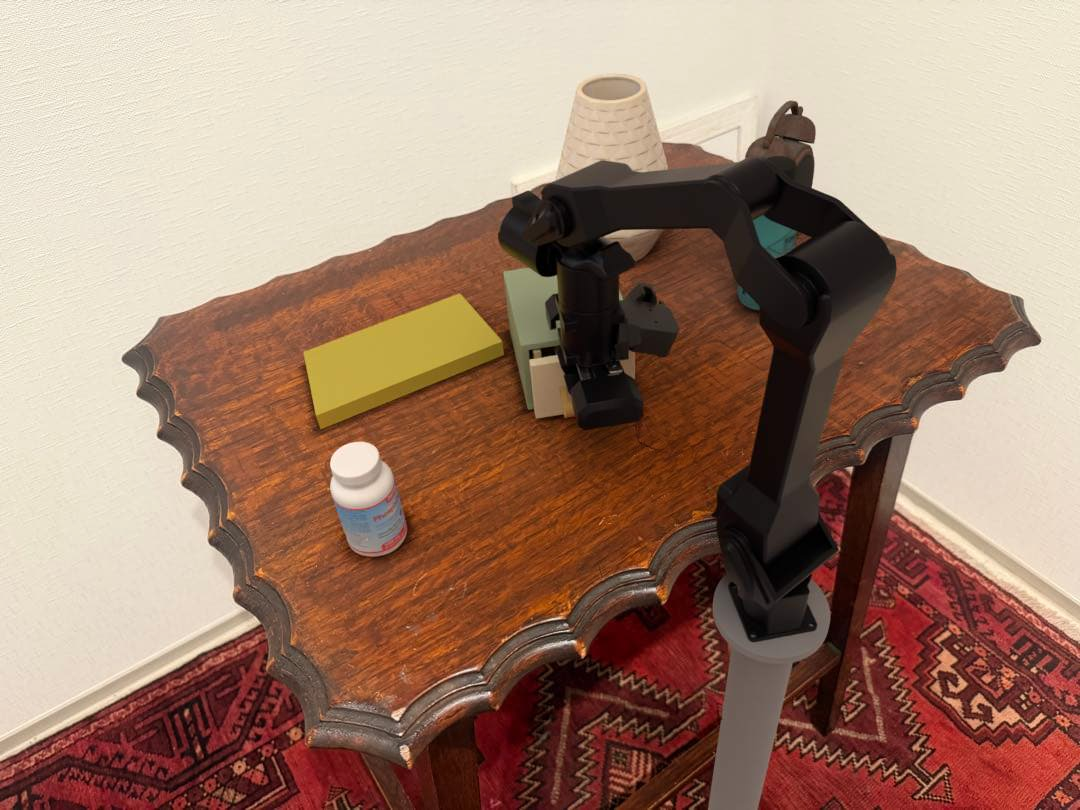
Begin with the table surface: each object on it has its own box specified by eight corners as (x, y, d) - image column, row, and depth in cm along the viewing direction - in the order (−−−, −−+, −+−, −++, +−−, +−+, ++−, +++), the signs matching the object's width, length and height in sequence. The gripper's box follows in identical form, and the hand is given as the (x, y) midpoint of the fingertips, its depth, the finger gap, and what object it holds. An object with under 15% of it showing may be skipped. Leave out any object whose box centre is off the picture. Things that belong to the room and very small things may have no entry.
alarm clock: (774, 278, 115) (793, 137, 102) (723, 264, 119) (736, 125, 105) (813, 226, 124) (836, 89, 111) (765, 215, 127) (781, 80, 114)
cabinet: (634, 392, 101) (634, 327, 94) (528, 410, 100) (520, 345, 94) (607, 318, 112) (605, 255, 105) (510, 334, 111) (502, 271, 104)
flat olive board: (462, 306, 116) (289, 372, 108) (460, 293, 114) (284, 358, 107) (504, 354, 108) (320, 429, 100) (502, 341, 106) (315, 415, 99)
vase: (662, 286, 116) (668, 122, 100) (538, 272, 120) (524, 113, 105) (684, 218, 128) (691, 62, 112) (570, 208, 132) (562, 57, 117)
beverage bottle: (729, 316, 110) (744, 172, 97) (741, 287, 115) (756, 145, 101) (782, 325, 108) (804, 179, 95) (791, 295, 113) (813, 151, 99)
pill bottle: (398, 562, 85) (375, 486, 78) (339, 556, 86) (311, 480, 79) (415, 515, 90) (395, 438, 82) (359, 509, 91) (334, 433, 83)
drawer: (644, 428, 95) (645, 374, 90) (542, 445, 94) (537, 392, 89) (608, 331, 108) (607, 279, 103) (518, 345, 107) (512, 294, 102)
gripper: (702, 342, 75) (692, 465, 86) (646, 231, 89) (644, 349, 99) (576, 363, 74) (582, 484, 85) (539, 247, 88) (549, 365, 99)
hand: (593, 415), depth 92 cm, fingers closed
